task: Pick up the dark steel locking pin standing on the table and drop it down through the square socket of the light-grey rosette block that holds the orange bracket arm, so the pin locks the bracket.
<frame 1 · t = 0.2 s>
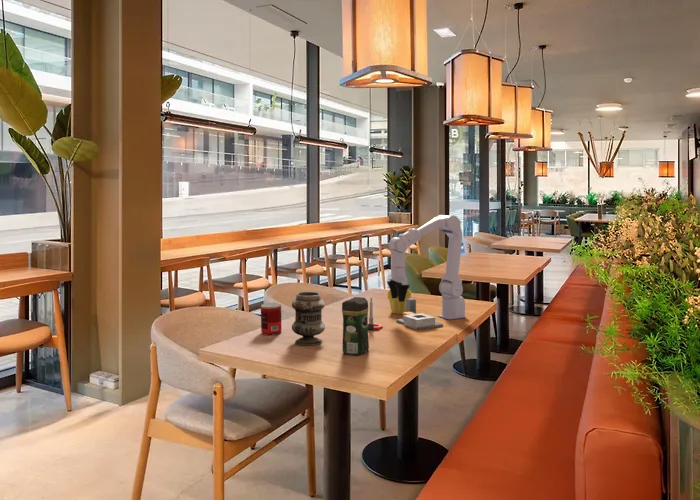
hand: (398, 299, 234), 10 cm above the table, tool pointing down, fingers open, 7 cm apart
apothecary jar: (308, 342, 207), on the table
bracket fixture: (419, 324, 234), on the table
plant pot: (399, 312, 256), on the table
locking pin: (411, 317, 246), on the table
coffee jar: (355, 352, 194), on the table
canned food: (271, 333, 221), on the table
tow hook: (371, 328, 228), on the table
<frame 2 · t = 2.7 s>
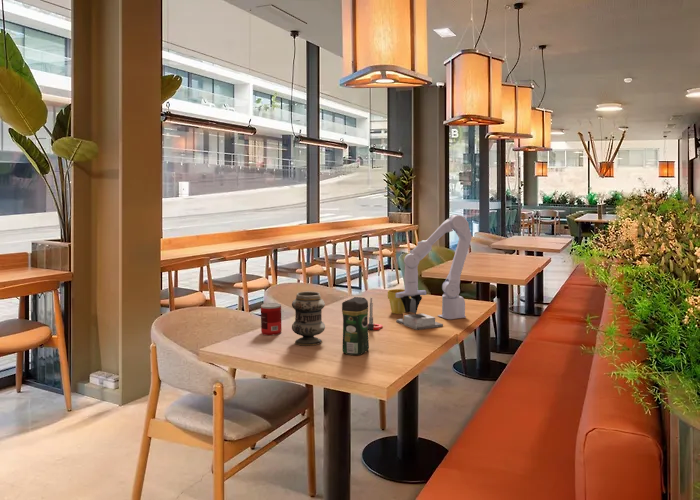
hand: (411, 312, 246), 2 cm above the table, tool pointing down, fingers closed on locking pin, 3 cm apart
locking pin: (411, 317, 246), on the table, touching gripper
everything else where it was.
when the fingers open (5 cm above the table, at t = 6.1 s): locking pin stays where it is, resting on bracket fixture.
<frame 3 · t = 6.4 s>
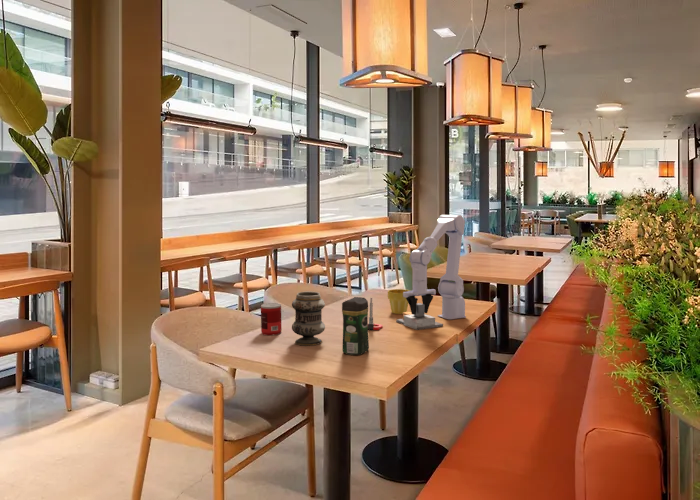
hand: (419, 313, 230), 5 cm above the table, tool pointing down, fingers open, 5 cm apart
locking pin: (419, 323, 230), point 1 cm above the table, touching bracket fixture
everything else where it was.
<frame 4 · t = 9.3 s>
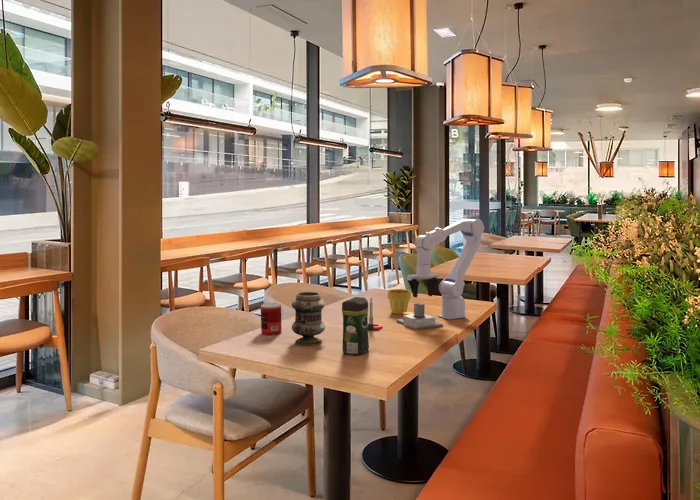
hand: (422, 296, 238), 10 cm above the table, tool pointing down, fingers open, 7 cm apart
nothing on the table moved.
at the end: locking pin 0.2 cm from the target spot on the bracket fixture, point 1.0 cm above the bracket fixture's base; locking pin tilted 0°; the gripper is holding nothing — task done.
